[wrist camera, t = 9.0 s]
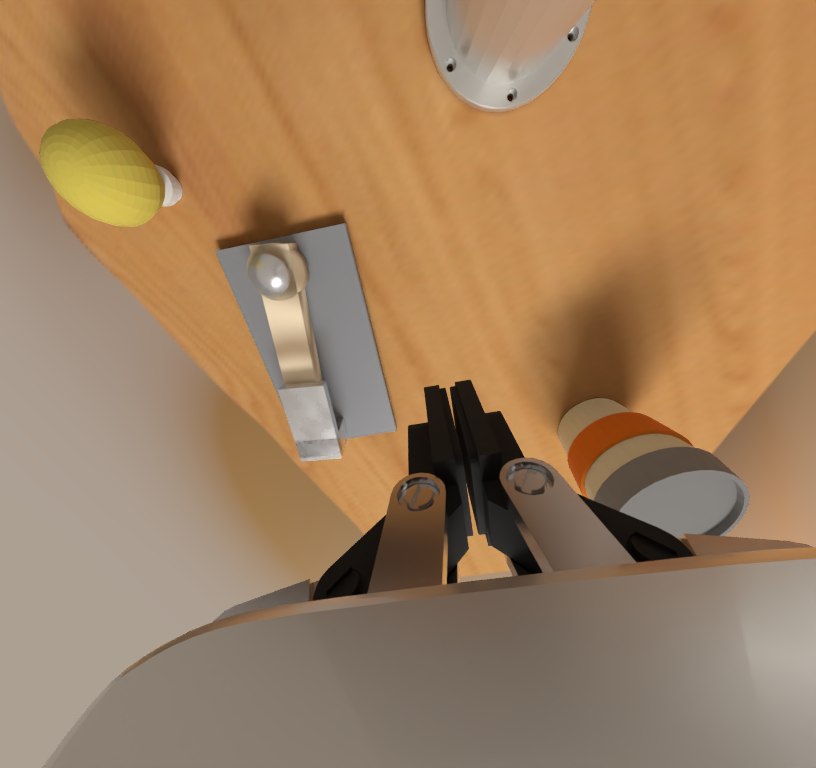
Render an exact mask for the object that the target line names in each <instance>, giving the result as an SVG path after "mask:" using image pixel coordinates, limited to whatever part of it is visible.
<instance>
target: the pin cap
mask: <svg viewBox="0 0 816 768" xmlns="http://www.w3.org/2000/svg"><path fill="white" fill-rule="evenodd" d="M248 277H249V280H250V282H251V283H252V285H253V286H254V287H255V289H257V290H258V291H259V292H261V293H262V294H265V295H268V296H276V295H279V294H281V293H283V292H284V291H285V290H286V289H287V288H288V286H289V283H290V273H289V270H288V268H287V266H286V265H285V263H284V262H283V261H282V260H281V259H280V258H278V257H276V256H274V255H271V254H260V255H257V256H255V257H254V258H253V259H252V260H251V261H250V263H249V265H248Z"/></svg>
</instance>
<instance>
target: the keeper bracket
mask: <svg viewBox="0 0 816 768" xmlns="http://www.w3.org/2000/svg"><path fill="white" fill-rule="evenodd" d="M278 392H279V395H280V398H281V401H282V404H283V407H284V410H285V413H286V416H287V419H288V422H289V425H290V428H291V431H292V434H293V437H294V440H295V443H296V446H297V449H298V452H299V455H300V458H301V461H312V460H324V459H336V458H342V455H343V451H344V448H345V444H346V441H347V437H348V435H347V431H346V426H345V422H344V418H335V415H334V411H333V407H332V403H331V399H330V395H329V391H328V387H327V383H326V381H317V382H307V383H296V384H285V385H281V386H280V388H279V389H278Z"/></svg>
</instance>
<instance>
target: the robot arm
mask: <svg viewBox="0 0 816 768" xmlns="http://www.w3.org/2000/svg"><path fill="white" fill-rule="evenodd" d="M595 1H596V0H425V21H426V30H427V39H428V43H429V47H430V50H431V54H432V58H433V60H434V63H435V65H436V67H437V69H438V72H439V74H440V76H441V77H442V79H443V80H444V82H445V83H446V85H447V86H448V88H449V89H450V90H451V91H452V92H453V93H454V94H455V95H456V96H457V97H458V98H459V99H460V100H461V101H463V102H465V103H466V104H468V105H469V106H471V107H473V108H476V109H479V110H482V111H485V112H498V113H499V112H505V111H511V110H514V109H517V108H519V107H521V106H524V105H526V104H528V103H529V102H531V101H532V100H534V99H535V98H537V97H538V96H540V95H541V94H542V93H543V92H544V91H545V90H546V89H547V88H548V87H549V86H550V85H551V84H552V83H553V82H554V81H555V80H556V79H557V77H558V76H559V75H560V74H561V73H562V72H563V70H564V69H565V67H566V66H567V64H568V63H569V61H570V60H571V58H572V57H573V55H574V53H575V51H576V49H577V47H578V45H579V43H580V41H581V39H582V37H583V34H584V31H585V28H586V25H587V22H588V19H589V16H590V13H591V7H592V4H593V3H594V2H595ZM567 36H568V37H570V41H569V40H568V37H567ZM448 66H451V67H452V69H453V71H452V72H448V71H447V67H448ZM508 95H509V96H511V98H512V100H511V102H509V101H508V100H507V96H508ZM424 392H425V400H426V409H427V418H428V422H427V423H421V424H415V425H409V426H408V460H409V476H406V477H405V478H403V479H402V480H400V481H399V482H398V483H397V484H396V485H395V487H394V488H393V491H392V493H391V497H390V501H389V505H388V509H387V514H386V515H385V516H384V517H383V518H382V519H381V520H380V521H379V522H378V523H377V524H376V525H375V526H373V527H372V528H371V529H370V530H369V531H368V532H367V533H366V534H365V535H364V536H363V537H362V538H361V539H360V540H359V541H357V543H355V544H354V545H353V546H352V547H351V548H350V549H349V550H348V551H347V552H346V553H345V554H344V555H343V556H342V557H340V558H339V559H338V560H337V561H336V562H335V563H334V564H333V565H332V566H331V567H330V568H329V569H328V570H327V571H326V572H325V573H324V574H323V576H322V577H321V578H320V580H319V581H316V582H313V583H312V582H311V580H310V579H308V580H305V581H303V582H300V583H297V584H294V585H291V586H289V587H286V588H283V589H280V590H277V591H275V592H272V593H269V594H266V595H264V596H261V597H258V598H255V599H253V600H250V601H247V602H244V603H242V604H239V605H236V606H234V607H232V608H230V609H228V610H226V611H224V612H223V613H222V614H221V615H220V616H219V617H218V618H217V619H215V620H214V621H213V622H212V623H209V624H206V625H204V626H201V627H199V628H196V629H194V630H192V631H189V632H187V633H185V634H183V635H181V636H179V637H177V638H175V639H174V640H172V641H170V642H168V643H166V644H164V645H162V646H160V647H159V648H157V649H155V650H154V651H152V652H151V653H149V654H147V655H146V656H144V657H143V658H141V659H140V660H138V661H137V662H136V663H134V664H133V665H131V666H130V667H128V668H127V669H126V670H125V671H124V672H122V673H121V674H120V675H119V676H118V677H117V678H115V679H114V680H113V681H112V682H111V683H110V684H109V685H108V686H107V687H106V688H105V689H104V690H103V691H102V692H101V694H100V695H99V696H98V697H97V698H96V699H95V700H94V701H93V702H92V704H91V705H90V706H89V707H88V708H87V710H86V711H85V712H84V713H83V715H82V716H81V717H80V718H79V720H78V721H77V722H76V723H75V725H74V726H73V727H72V728H71V730H70V731H69V732H68V733H67V735H66V736H65V737H64V739H63V740H62V742H61V743H60V744H59V745H58V747H57V748H56V750H55V751H54V752H53V754H52V755H51V756H50V758H49V759H48V760H47V762H46V763H45V765H44V766H43V767H42V768H816V548H814V547H811V546H809V545H806V544H801V543H795V542H790V541H779V540H766V539H752V538H739V537H725V536H712V535H698V534H685V533H683V536H682V538H676V537H674V536H673V535H672V534H670V533H668V532H666V531H664V530H662V529H660V528H658V527H656V526H653V525H651V524H649V523H646V522H644V521H641V520H639V519H637V518H634V517H632V516H629V515H627V514H625V513H622V512H620V511H617V510H615V509H613V508H610V507H608V506H605V505H603V504H601V503H598V502H596V501H593V500H591V499H589V498H586V497H584V496H581V495H579V494H577V493H576V492H575V491H574V490H573V489H572V488H571V486H570V485H569V484H568V483H567V482H566V481H565V480H564V478H563V477H562V476H561V475H560V474H559V473H558V471H557V470H556V469H554V468H553V467H552V466H551V465H550V464H548V463H546V462H544V461H541V460H538V459H534V458H525V457H524V456H523V454H522V452H521V450H520V448H519V446H518V444H517V442H516V440H515V438H514V436H513V434H512V432H511V430H510V429H509V427H508V425H507V423H506V421H505V419H504V417H503V415H502V413H501V412H500V411H497V412H490V413H485V412H484V410H483V408H482V405H481V403H480V401H479V398H478V396H477V394H476V391H475V389H474V387H473V384H472V382H471V380H466V381H460V382H455V386H453V387H450V392H451V400H452V407H453V414H454V421H455V425H454V421H453V417H452V413H451V409H450V405H449V401H448V397H447V393H446V389H445V388H441V389H439V385H436V386H430V387H424ZM455 428H456V429H455ZM466 484H467V486H466ZM467 488H468V492H469V496H470V500H471V505H472V509H473V513H474V517H475V521H476V526H477V530H478V534H479V535H482V534H486V538H487V542H488V546H493V547H494V548H496V549H498V550H499V551H501V552H502V553H504V554H505V559H506V562H507V565H508V567H509V569H510V571H511V573H512V576H513V577H504V578H496V579H487V580H479V581H471V582H461V583H460V568H459V561H460V560H461V558H462V557H463V556H464V554H465V553H466V552H467V550H468V549H469V547H468V540H467V536H473V530H472V523H471V516H470V508H469V501H468V493H467Z"/></svg>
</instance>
